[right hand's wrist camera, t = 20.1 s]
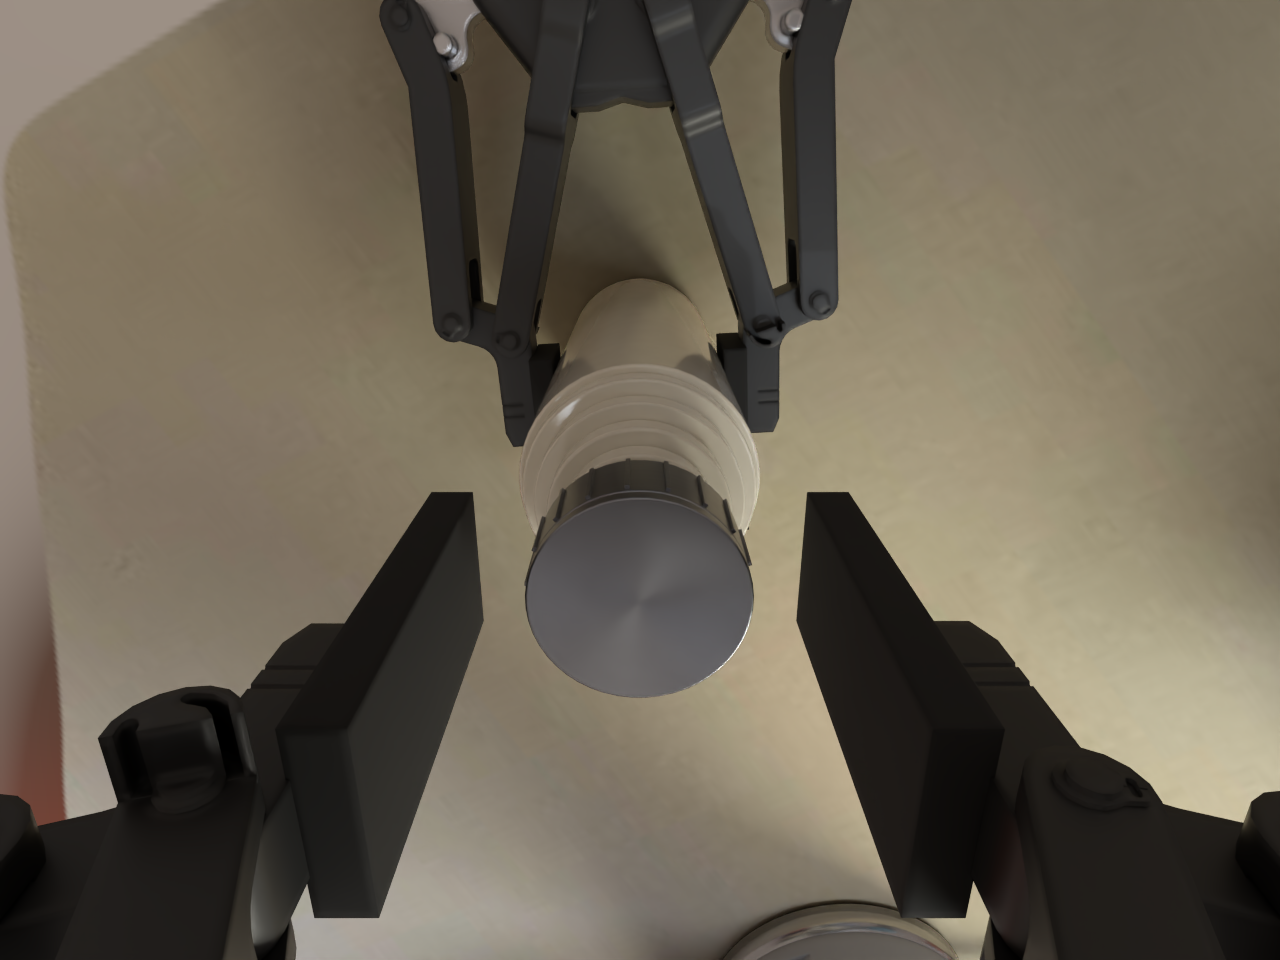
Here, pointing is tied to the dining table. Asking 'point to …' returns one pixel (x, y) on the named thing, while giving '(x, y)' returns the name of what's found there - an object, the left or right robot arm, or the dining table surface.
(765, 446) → the dining table surface
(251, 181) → the dining table surface
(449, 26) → the left robot arm
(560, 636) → the cap
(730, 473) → the bottle
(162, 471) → the dining table surface
